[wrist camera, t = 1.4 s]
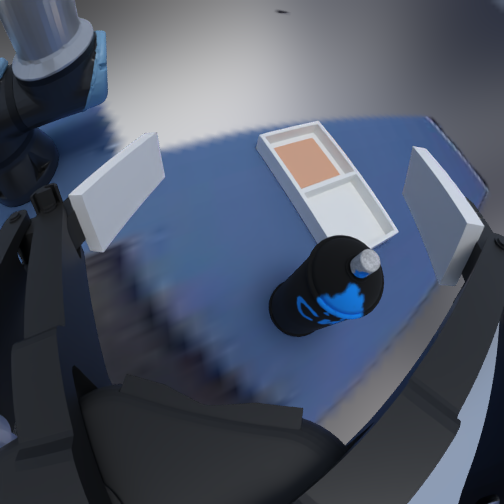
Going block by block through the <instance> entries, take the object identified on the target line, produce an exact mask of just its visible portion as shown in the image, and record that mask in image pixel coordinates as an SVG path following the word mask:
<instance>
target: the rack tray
mask: <svg viewBox="0 0 504 504" xmlns="http://www.w3.org/2000/svg"><path fill="white" fill-rule="evenodd" d="M256 149H257V151H258V152H259V153H260V155H261V156H262V158H263V159H264V161H265V162H266V164H267V165H268V167H269V168H270V170H271V171H272V173H273V174H274V176H275V177H276V179H277V180H278V182H279V184H280V185H281V187H282V188H283V190H284V191H285V193H286V194H287V196H288V197H289V199H290V201H291V202H292V204H293V205H294V207H295V208H296V210H297V212H298V213H299V215H300V216H301V218H302V220H303V221H304V223H305V224H306V226H307V228H308V229H309V231H310V232H311V234H312V236H313V237H314V239H315V241H316V242H317V244H318V243H319V242H321V241H322V240H324V239H326V238H328V237H331V236H335V235H346V236H351V237H353V238H356V239H358V240H360V241H362V242H363V243H364V244H366V245H367V246H368V247H369V248H370V249H371V250H372V249H374V248H376V247H377V246H379V245H381V244H382V243H384V242H386V241H387V240H389V239H390V238H391V237H393V236H394V235H395V234H397V233H398V232H399V231H398V230H397V228H396V227H395V225H394V223H393V222H392V220H391V219H390V217H389V216H388V214H387V212H386V211H385V209H384V208H383V206H382V205H381V203H380V202H379V200H378V199H377V197H376V196H375V194H374V193H373V192H372V190H371V189H370V187H369V186H368V184H367V183H366V182H365V180H364V179H363V177H362V176H361V175H360V173H359V172H358V170H357V169H356V168H355V166H354V165H353V164H352V162H351V161H350V159H349V158H348V157H347V155H346V154H345V153H344V152H343V150H342V149H341V148H340V146H339V145H338V144H337V143H336V141H335V140H334V139H333V138H332V136H331V135H330V134H329V133H328V131H327V130H326V129H325V128H324V127H323V126H322V124H321V123H320V122H319V121H315V122H311V123H306V124H302V125H297V126H293V127H289V128H284V129H280V130H276V131H272V132H268V133H265V134H261V135H259V138H258V142H257V145H256Z"/></svg>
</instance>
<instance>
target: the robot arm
mask: <svg viewBox="0 0 504 504" xmlns="http://www.w3.org/2000/svg"><path fill="white" fill-rule="evenodd" d="M0 19H1V22H2V24H3V26H4V28H5V30H6V33H7V35H8V37H9V39H10V41H11V43H12V45H13V47H14V49H15V51H16V54H15V57H14V59H13V63H12V64H11V65H8V61H6V60H5V59H4V58H0V202H1V203H2V204H4V205H6V206H10V207H14V206H19V205H22V204H24V203H26V202H28V201H30V200H31V202H32V204H33V207H34V209H35V211H36V214H37V216H36V217H35V218H31V219H30V217H29V215H28V213H27V211H26V210H20V211H18V212H17V211H16V212H14V213H13V214H12V215H11V216H10V217H9V218H8V219H7V220H6V222H5V223H4V225H3V226H2V228H1V230H0V504H407V503H408V502H409V501H410V500H411V498H412V497H413V496H414V495H415V494H416V492H417V491H418V490H419V488H420V487H421V486H422V485H423V483H424V482H425V480H426V479H427V478H428V477H429V475H430V474H431V472H432V471H433V470H434V468H435V467H436V465H437V464H438V462H439V461H440V459H441V458H442V456H443V455H444V453H445V452H446V450H447V449H448V447H449V445H450V443H451V442H452V441H453V439H454V437H455V436H456V434H457V432H458V430H459V427H460V423H461V421H460V420H459V419H457V416H458V414H459V412H460V410H461V407H462V406H463V404H464V402H465V400H466V398H467V396H468V394H469V392H470V390H471V388H472V386H473V384H474V382H475V380H476V378H477V376H478V373H479V371H480V369H481V367H482V365H483V362H484V360H485V357H486V355H487V353H488V350H489V348H490V345H491V342H492V340H493V337H494V334H495V332H496V329H497V326H498V323H499V336H498V348H497V357H496V365H495V372H494V378H493V384H492V390H491V395H490V400H489V405H488V410H487V414H486V418H485V422H484V426H483V430H482V433H481V437H480V440H479V444H478V447H477V450H476V453H475V456H474V459H473V462H472V465H471V468H470V470H469V473H468V476H467V479H466V482H465V485H464V487H463V490H462V493H461V496H460V500H459V503H458V504H504V237H503V236H501V235H499V234H496V233H493V232H492V230H491V229H490V227H489V225H488V224H487V222H486V221H485V219H483V216H482V215H481V213H479V211H478V209H477V208H476V206H475V205H474V204H473V203H472V202H471V201H470V200H469V199H467V198H466V197H464V195H463V194H462V193H461V191H460V190H459V189H458V187H457V186H456V185H455V183H454V182H453V181H452V179H451V178H450V177H449V176H448V174H447V173H446V172H445V171H444V169H443V168H442V167H441V166H440V165H439V163H438V162H437V161H436V160H435V159H434V157H433V156H432V155H431V154H430V153H429V152H428V150H427V149H425V148H420V147H415V146H413V147H412V153H411V157H410V162H409V167H408V172H407V176H406V180H405V185H404V189H403V193H402V194H403V196H404V198H405V200H406V202H407V205H408V207H409V209H410V211H411V214H412V216H413V218H414V220H415V223H416V225H417V227H418V230H419V232H420V235H421V237H422V240H423V242H424V245H425V247H426V250H427V252H428V255H429V258H430V260H431V263H432V266H433V269H434V272H435V274H436V277H437V280H438V283H439V285H448V286H455V285H456V284H457V282H458V280H459V278H460V276H461V274H462V275H463V278H464V280H465V283H464V285H463V287H462V288H461V290H460V292H459V293H458V295H457V297H456V298H455V300H454V302H453V305H452V306H451V308H450V310H449V312H448V313H447V315H446V317H445V319H444V320H443V322H442V324H441V325H440V327H439V328H438V330H437V332H436V334H435V335H434V336H433V338H432V340H431V341H430V343H429V344H428V346H427V347H426V349H425V350H424V352H423V353H422V355H421V356H420V357H419V359H418V360H417V362H416V363H415V365H414V366H413V367H412V369H411V370H410V371H409V373H408V374H407V376H406V377H405V378H404V380H403V381H402V382H401V384H400V385H399V386H398V387H397V389H396V390H395V391H394V392H393V394H392V395H391V396H390V397H389V399H388V400H387V401H386V402H385V403H384V405H383V406H382V407H381V408H380V409H379V410H378V412H377V413H376V414H375V415H374V416H373V417H372V419H371V420H370V421H369V422H368V423H367V424H366V425H365V426H364V427H363V428H362V429H361V430H360V431H359V432H358V433H357V434H356V435H355V436H354V437H353V438H352V439H351V440H350V441H349V442H348V443H347V444H346V445H344V444H343V443H342V442H341V441H340V440H339V439H338V438H337V437H336V436H335V435H333V434H332V433H331V432H330V431H328V430H326V429H325V428H323V427H322V426H320V425H318V424H316V423H313V422H311V421H309V420H306V419H303V418H302V414H303V408H297V407H287V406H278V405H270V404H262V403H246V404H232V405H211V406H210V405H203V404H201V403H199V402H197V401H195V400H193V399H191V398H189V397H187V396H185V395H183V394H181V393H179V392H177V391H175V390H174V389H172V388H170V387H168V386H166V385H164V384H161V383H157V382H153V381H150V380H146V379H142V378H139V377H136V376H132V375H129V374H127V375H126V378H125V380H124V383H123V384H118V385H112V384H111V382H110V380H109V377H108V374H107V370H106V367H105V363H104V359H103V355H102V351H101V347H100V343H99V339H98V334H97V330H96V325H95V320H94V315H93V310H92V304H91V298H90V292H89V286H88V280H87V272H86V265H85V256H84V251H83V249H82V247H81V244H82V243H83V242H84V241H85V239H86V242H87V244H88V246H89V249H90V251H97V252H104V251H105V250H106V248H107V247H108V246H109V244H110V243H111V242H112V240H113V239H114V238H115V237H116V235H117V234H118V233H119V231H120V230H121V229H122V228H123V226H124V225H125V224H126V223H127V221H128V220H129V219H130V218H131V216H132V215H133V214H134V213H135V211H136V210H137V209H138V208H139V207H140V205H141V204H142V203H143V202H144V201H145V199H146V198H147V197H148V196H149V195H150V194H151V192H152V191H153V190H154V189H155V188H156V187H157V186H158V184H159V183H160V182H161V181H162V180H163V179H164V178H165V174H164V169H163V163H162V158H161V152H160V147H159V141H158V135H157V132H154V133H145V134H143V135H142V136H140V137H139V138H138V139H136V140H135V141H134V142H132V143H131V144H130V145H128V146H127V147H126V148H124V149H123V150H122V151H120V152H119V153H118V154H116V155H115V156H114V157H113V158H111V159H110V160H109V161H107V162H106V163H105V164H104V165H103V166H101V167H100V168H99V169H98V170H96V171H95V172H94V173H93V174H92V175H91V176H89V177H88V178H87V179H86V180H85V181H84V182H82V183H81V184H80V185H79V186H78V187H77V188H76V189H75V190H73V191H72V192H71V193H70V194H69V195H68V196H69V197H68V198H67V199H66V200H65V201H64V202H63V201H62V198H61V195H60V192H59V190H58V187H57V184H55V183H52V184H48V183H49V181H50V180H51V178H52V177H53V175H54V173H55V171H56V168H57V165H58V158H59V156H58V150H57V148H56V146H55V144H54V142H53V141H52V139H51V138H50V137H49V136H48V135H46V134H45V133H44V132H43V131H41V130H40V129H39V128H37V127H40V126H42V125H45V124H48V123H50V122H53V121H56V120H59V119H61V118H64V117H67V116H70V115H73V114H76V113H79V112H84V111H86V110H87V109H89V108H91V107H94V106H97V105H99V104H101V103H103V102H104V101H105V99H106V98H107V94H108V83H107V65H106V64H107V61H106V59H107V55H106V33H105V31H93V27H92V25H91V23H90V22H89V21H87V20H86V19H82V18H78V15H77V10H76V5H75V0H0ZM47 184H48V185H47ZM18 254H19V256H20V257H21V259H22V261H23V262H22V264H21V262H20V260H19V258H18ZM15 422H16V429H17V436H18V437H17V436H16V435H15V434H13V433H12V432H13V429H14V425H15Z"/></svg>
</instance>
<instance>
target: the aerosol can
mask: <svg viewBox="0 0 504 504" xmlns="http://www.w3.org/2000/svg"><path fill="white" fill-rule="evenodd" d="M383 288H384V276H383V271H382V267H381V265H380V258H379V256H378V254H377V253H376V252H375V251H373V250H371V249H370V248H369V247H368V246H367V245H366V244H364V243H363V242H362V241H360V240H358V239H356V238H353V237H351V236H346V235H335V236H331V237H328V238H326V239H324V240H322V241H321V242H319V243H318V244H317V245H316V246H315V247H314V249H313V250H312V252H311V254H310V256H309V257H308V258H307V259H306V261H305V262H304V263H303V264H302V265H301V266H300V267H299V268H298V269H297V270H296V271H295V272H294V273H293V274H292V275H291V276H290V277H289V278H288V279H287V280H286V281H285V282H283V283H281V284H280V285H279V286H278V287H276V289H275V290H274V291H273V293H272V295H271V298H270V301H269V311H270V316H271V319H272V321H273V322H274V324H275V325H276V326H277V328H278V329H280V330H281V331H282V332H284V333H286V334H288V335H291V336H297V337H300V336H306V335H308V334H311V333H312V332H314V331H315V330H318V329H321V328H324V327H327V326H330V325H333V324H336V323H339V322H341V321H344V320H347V319H357V318H361V317H363V316H365V315H367V314H368V313H370V312H371V311H372V310H373V309H374V308H375V307H376V306H377V304H378V303H379V301H380V299H381V296H382V293H383Z"/></svg>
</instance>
